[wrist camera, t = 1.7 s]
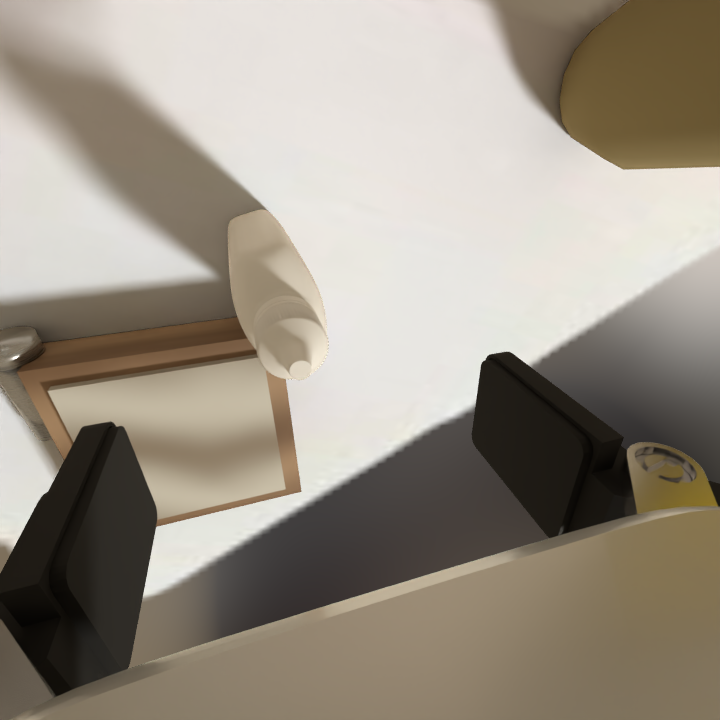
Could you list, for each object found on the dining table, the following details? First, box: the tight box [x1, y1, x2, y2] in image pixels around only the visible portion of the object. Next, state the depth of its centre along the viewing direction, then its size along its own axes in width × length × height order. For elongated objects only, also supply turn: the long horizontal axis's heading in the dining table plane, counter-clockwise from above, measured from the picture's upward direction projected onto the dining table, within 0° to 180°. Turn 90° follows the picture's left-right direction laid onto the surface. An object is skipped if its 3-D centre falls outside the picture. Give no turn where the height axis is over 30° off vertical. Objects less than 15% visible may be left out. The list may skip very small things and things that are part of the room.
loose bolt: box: [0, 326, 52, 441], centre depth 21 cm, size 6×3×3 cm
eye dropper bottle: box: [228, 210, 329, 380], centre depth 17 cm, size 4×6×12 cm
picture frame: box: [17, 317, 301, 527], centre depth 24 cm, size 12×12×3 cm
